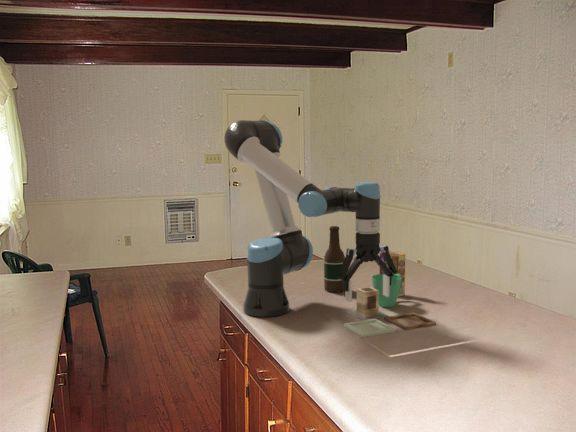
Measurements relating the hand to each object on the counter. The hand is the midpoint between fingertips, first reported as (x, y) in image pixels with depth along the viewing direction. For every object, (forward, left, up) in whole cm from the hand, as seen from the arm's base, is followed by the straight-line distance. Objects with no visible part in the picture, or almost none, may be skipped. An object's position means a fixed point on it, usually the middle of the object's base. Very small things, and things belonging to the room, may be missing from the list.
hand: (367, 298), depth 179 cm
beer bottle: (+5, +32, -6) cm, 33 cm away
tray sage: (-6, -12, -6) cm, 15 cm away
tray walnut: (+8, -12, -6) cm, 15 cm away
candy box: (+21, +18, -6) cm, 29 cm away
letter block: (0, 0, -5) cm, 5 cm away
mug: (+13, +8, -6) cm, 16 cm away
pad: (0, 0, -6) cm, 6 cm away
